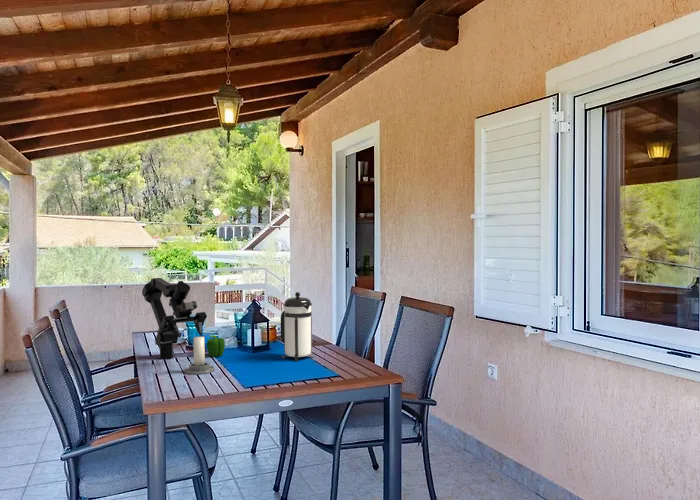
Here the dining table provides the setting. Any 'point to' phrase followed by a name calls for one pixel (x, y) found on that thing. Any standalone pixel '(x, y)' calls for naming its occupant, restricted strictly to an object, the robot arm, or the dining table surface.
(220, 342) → the bell pepper
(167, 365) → the dining table surface
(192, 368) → the holder
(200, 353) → the candle
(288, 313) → the coffee press
